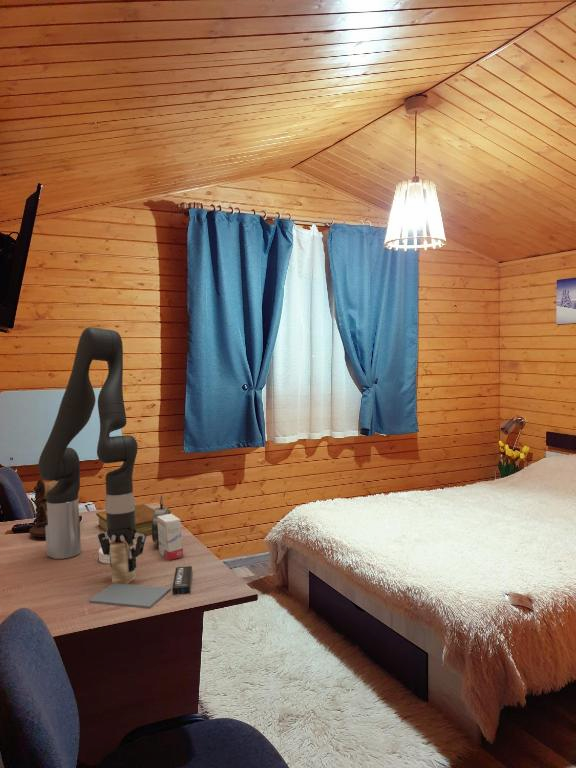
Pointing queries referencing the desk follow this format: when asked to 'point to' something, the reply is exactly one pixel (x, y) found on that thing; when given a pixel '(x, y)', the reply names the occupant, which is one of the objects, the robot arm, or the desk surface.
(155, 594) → the felt mat
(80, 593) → the desk surface
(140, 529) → the diary
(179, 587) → the multiport hub
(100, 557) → the coaster
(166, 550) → the ink box
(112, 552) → the birch block
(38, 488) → the brown tall piece
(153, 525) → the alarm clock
